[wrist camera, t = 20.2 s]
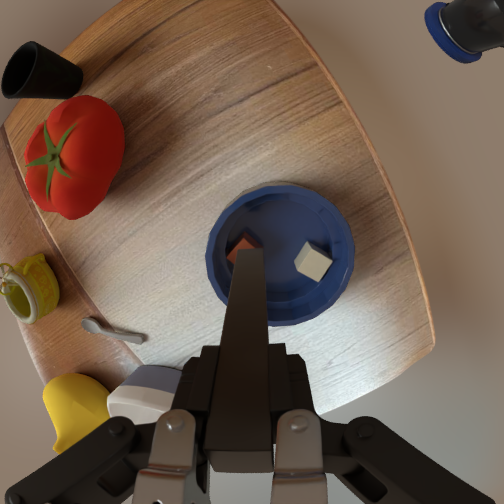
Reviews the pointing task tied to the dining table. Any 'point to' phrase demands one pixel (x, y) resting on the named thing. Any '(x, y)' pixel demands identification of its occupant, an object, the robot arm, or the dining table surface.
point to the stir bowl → (284, 248)
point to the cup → (40, 74)
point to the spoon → (95, 327)
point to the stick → (242, 376)
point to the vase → (75, 407)
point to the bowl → (144, 394)
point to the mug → (30, 288)
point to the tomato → (74, 156)
